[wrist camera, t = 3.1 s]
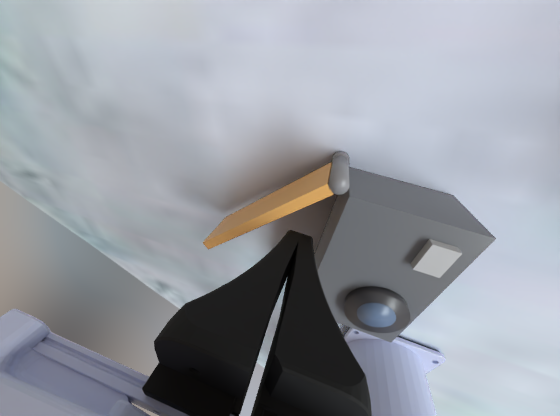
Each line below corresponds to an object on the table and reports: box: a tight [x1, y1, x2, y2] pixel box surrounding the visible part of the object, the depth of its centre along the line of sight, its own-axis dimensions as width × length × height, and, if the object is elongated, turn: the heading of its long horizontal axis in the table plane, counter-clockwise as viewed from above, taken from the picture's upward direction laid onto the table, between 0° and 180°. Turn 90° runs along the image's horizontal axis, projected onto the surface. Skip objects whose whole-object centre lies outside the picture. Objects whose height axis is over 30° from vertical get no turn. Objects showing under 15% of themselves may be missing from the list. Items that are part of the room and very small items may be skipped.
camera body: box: [314, 151, 496, 342], centre depth 12 cm, size 10×7×5 cm
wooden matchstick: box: [203, 155, 349, 249], centre depth 13 cm, size 10×1×3 cm, turn 124°
